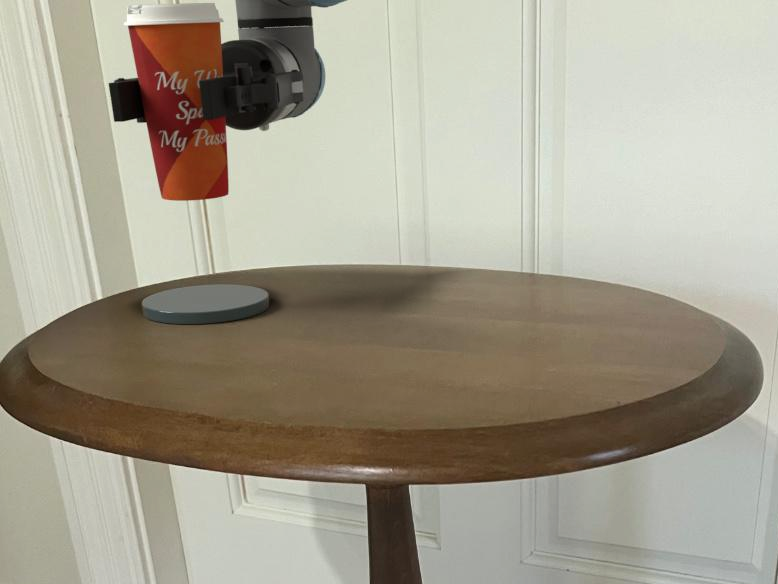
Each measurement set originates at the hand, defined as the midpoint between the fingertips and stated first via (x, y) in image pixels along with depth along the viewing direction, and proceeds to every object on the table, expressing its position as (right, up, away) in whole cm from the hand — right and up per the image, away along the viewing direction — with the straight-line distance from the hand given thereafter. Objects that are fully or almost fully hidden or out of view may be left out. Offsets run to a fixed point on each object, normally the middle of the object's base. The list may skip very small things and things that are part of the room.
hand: (160, 101), depth 82 cm
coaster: (+1, -12, +13) cm, 18 cm away
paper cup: (+1, -4, +8) cm, 9 cm away
